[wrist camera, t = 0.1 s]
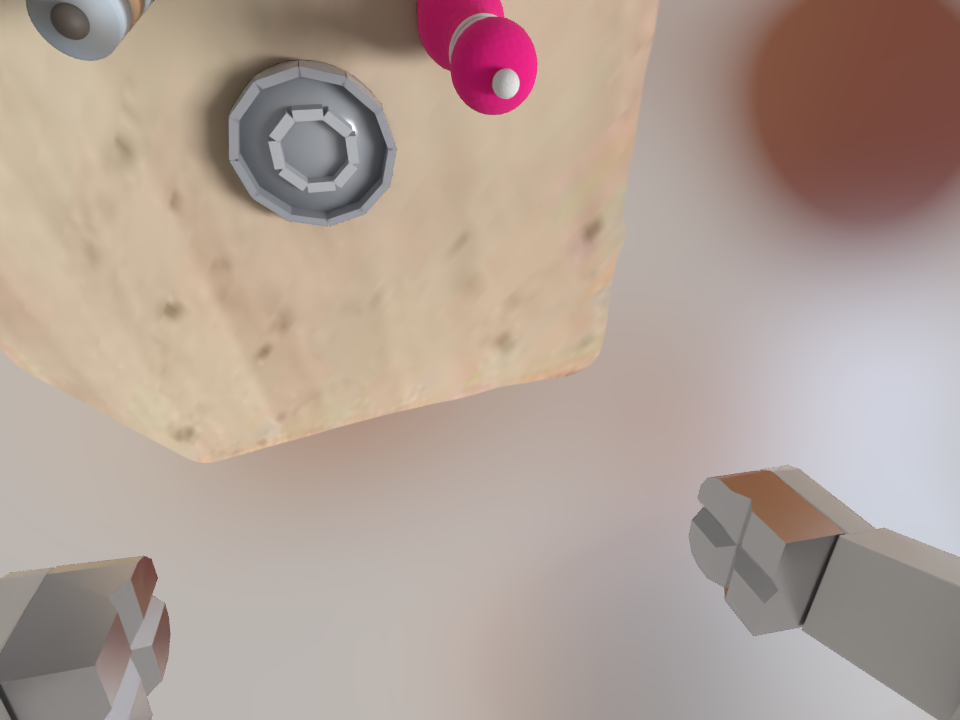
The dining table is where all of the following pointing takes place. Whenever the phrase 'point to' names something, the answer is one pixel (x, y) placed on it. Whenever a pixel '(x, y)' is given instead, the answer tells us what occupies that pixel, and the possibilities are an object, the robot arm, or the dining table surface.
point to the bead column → (85, 24)
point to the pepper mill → (479, 52)
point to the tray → (311, 143)
